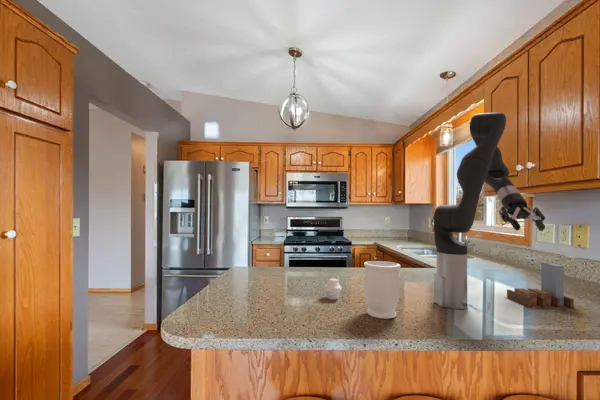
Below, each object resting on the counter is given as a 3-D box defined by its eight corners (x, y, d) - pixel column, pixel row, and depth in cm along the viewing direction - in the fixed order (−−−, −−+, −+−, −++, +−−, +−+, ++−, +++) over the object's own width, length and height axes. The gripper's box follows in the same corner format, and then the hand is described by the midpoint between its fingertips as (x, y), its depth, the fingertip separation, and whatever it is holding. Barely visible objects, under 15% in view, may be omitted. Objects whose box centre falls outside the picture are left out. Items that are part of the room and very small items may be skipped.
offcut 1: (527, 305, 97) (527, 292, 97) (514, 299, 103) (514, 288, 103) (536, 305, 97) (536, 293, 97) (523, 300, 103) (523, 288, 103)
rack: (527, 310, 94) (527, 298, 94) (504, 300, 105) (504, 289, 105) (575, 312, 94) (575, 299, 94) (546, 301, 105) (546, 290, 105)
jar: (380, 323, 81) (380, 267, 81) (356, 311, 90) (357, 261, 90) (408, 317, 86) (408, 265, 86) (382, 306, 95) (383, 259, 95)
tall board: (556, 306, 96) (555, 265, 97) (541, 300, 102) (541, 262, 103) (563, 306, 96) (563, 265, 97) (548, 300, 102) (548, 262, 103)
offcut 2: (541, 305, 97) (541, 293, 97) (527, 300, 102) (527, 288, 103) (551, 305, 96) (551, 293, 97) (536, 300, 102) (536, 288, 103)
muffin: (320, 297, 103) (320, 277, 103) (332, 294, 107) (332, 275, 108) (333, 302, 99) (333, 280, 99) (345, 298, 103) (345, 278, 103)
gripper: (497, 192, 120) (515, 222, 108) (534, 192, 119) (556, 223, 107) (489, 205, 125) (506, 235, 113) (524, 205, 124) (545, 236, 113)
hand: (530, 229), depth 110 cm, fingers open, 8 cm apart
